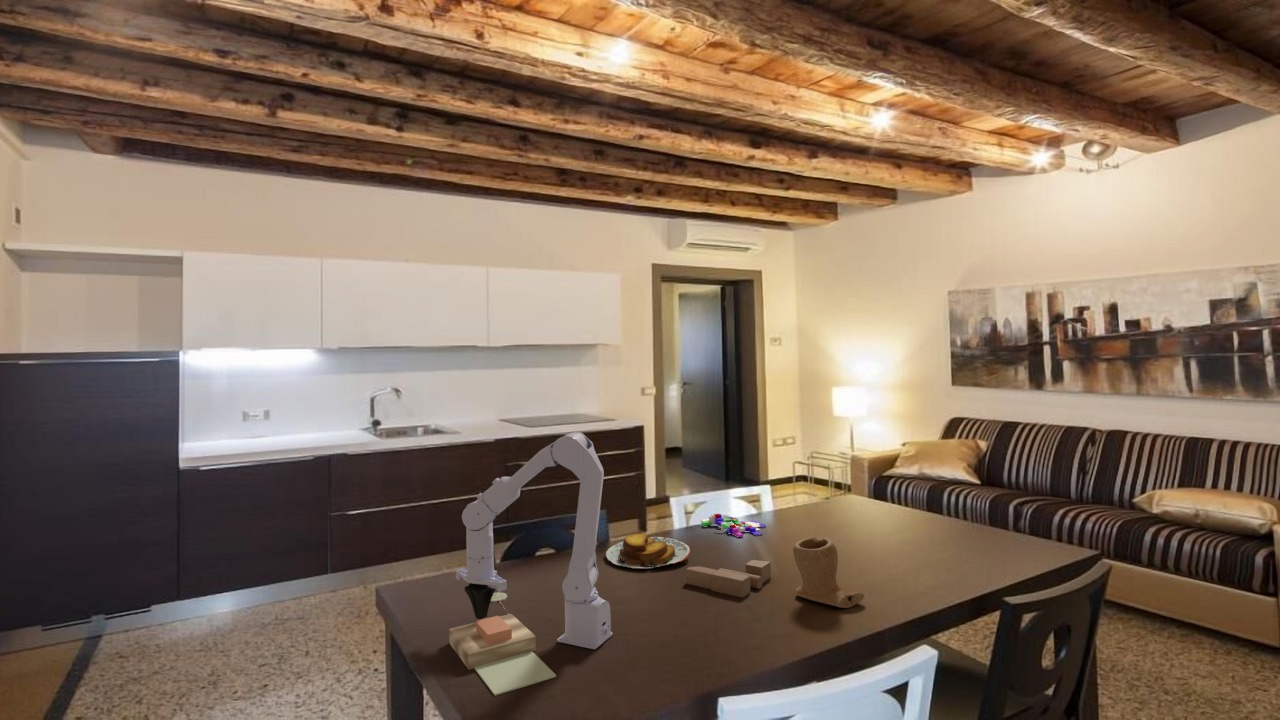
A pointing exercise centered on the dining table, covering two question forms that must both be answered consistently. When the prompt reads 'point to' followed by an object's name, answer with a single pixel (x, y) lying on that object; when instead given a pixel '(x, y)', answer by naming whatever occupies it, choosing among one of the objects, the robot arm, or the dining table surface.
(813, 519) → the dining table surface
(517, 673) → the mat
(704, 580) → the wooden block set
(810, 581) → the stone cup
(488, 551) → the robot arm
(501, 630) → the tile
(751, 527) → the building block set
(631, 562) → the food on plate
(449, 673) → the dining table surface
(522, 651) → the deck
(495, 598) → the sign
